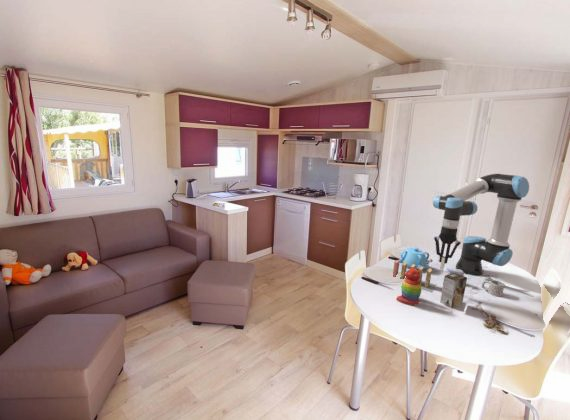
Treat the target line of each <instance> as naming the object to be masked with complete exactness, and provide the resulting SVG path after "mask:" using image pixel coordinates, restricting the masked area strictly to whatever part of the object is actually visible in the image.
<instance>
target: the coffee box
mask: <svg viewBox="0 0 570 420" xmlns="http://www.w3.org/2000/svg"><path fill="white" fill-rule="evenodd" d="M467 280H468V277H467V276H465V275H463V276H462V275H460V274H457V273H453V274H449V275H446V274H445V275H444V277H443V283H442V290H441V295H440V300H439V302H440V303H441V304H442V305H444V306H446V307H447V308H450V309H453V308H456V307H459V306H463V302H464V296H465V291H466V286H467Z"/></svg>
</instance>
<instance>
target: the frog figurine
mask: <svg viewBox="0 0 570 420" xmlns="http://www.w3.org/2000/svg"><path fill="white" fill-rule="evenodd" d="M483 321H484V322H485V323H484V322H482V323H483V324H482V325H483V328H484V329H487V330H488V332H491V333H493V334H496V333H497V334H499V335H504V336H508V335H509V334H510V332H509V329H508V327H506V326H505V325H503V327H504V328H505V329H507V331H506V330H505V329H503V328H502V327H501V326H502V324H501V323H500V322H501V321H498V320H497V317H496V315H493V314H490V315H488V318H485V319H484V320H483ZM489 328H490V329H489Z"/></svg>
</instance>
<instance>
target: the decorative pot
mask: <svg viewBox="0 0 570 420" xmlns="http://www.w3.org/2000/svg"><path fill="white" fill-rule="evenodd" d="M429 258H430V253H429V252H427V251H423V250H421V249H419V248H418V247H410V246H409V247H408V248H407V247H406V249H405V250H402V251H401V252H400V258H399V260H400V263H399V264H403V263H404V262H407V269H408V270H409V269H410V266H411V265H412V264H415V268H417V269H419V268H420V266H422V267H424V268H423V270H425V269H426V268H427V266H428V265H429V263H430V262H429Z"/></svg>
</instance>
